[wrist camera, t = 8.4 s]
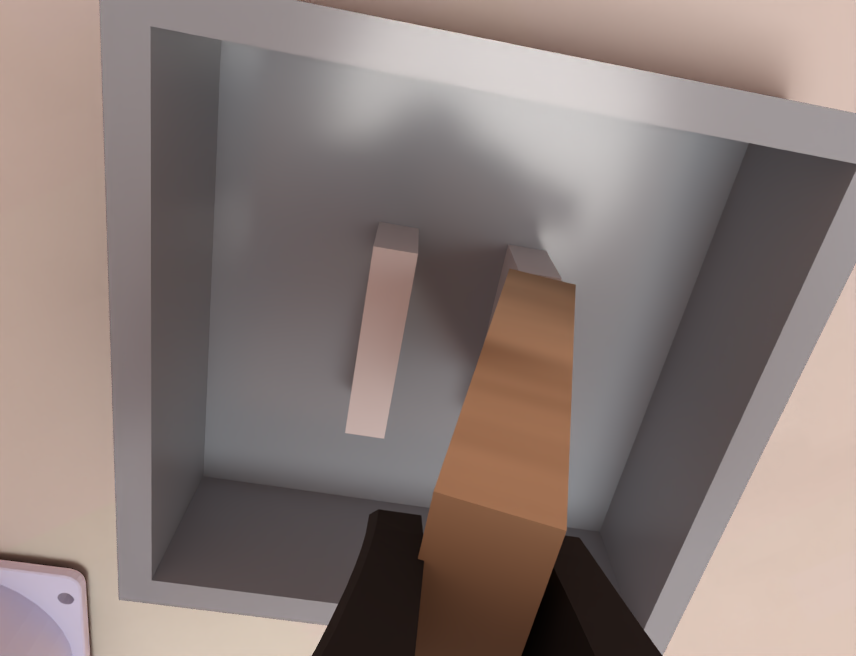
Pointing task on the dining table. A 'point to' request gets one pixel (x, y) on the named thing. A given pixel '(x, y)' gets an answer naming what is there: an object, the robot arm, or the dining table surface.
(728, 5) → the dining table surface
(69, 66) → the dining table surface
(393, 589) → the robot arm
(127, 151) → the shallow gray planter box
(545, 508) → the wooden plank block
